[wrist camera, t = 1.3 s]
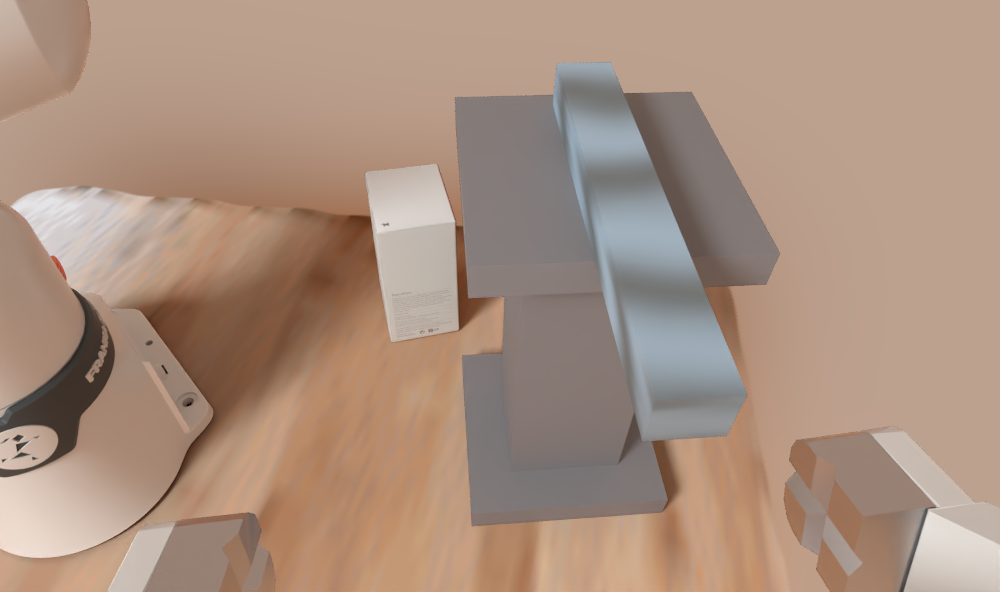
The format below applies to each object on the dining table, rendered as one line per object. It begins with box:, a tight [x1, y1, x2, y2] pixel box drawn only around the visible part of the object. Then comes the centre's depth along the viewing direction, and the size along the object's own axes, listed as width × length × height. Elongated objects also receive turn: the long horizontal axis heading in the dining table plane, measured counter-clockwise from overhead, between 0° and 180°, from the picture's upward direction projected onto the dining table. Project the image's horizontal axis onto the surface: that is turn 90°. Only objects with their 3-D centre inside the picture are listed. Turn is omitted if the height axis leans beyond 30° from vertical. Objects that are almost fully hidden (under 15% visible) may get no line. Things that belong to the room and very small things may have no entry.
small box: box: [365, 164, 459, 342], centre depth 57 cm, size 8×6×13 cm
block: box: [553, 62, 747, 442], centre depth 30 cm, size 22×3×2 cm, turn 5°
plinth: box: [455, 92, 780, 526], centre depth 43 cm, size 14×14×26 cm
